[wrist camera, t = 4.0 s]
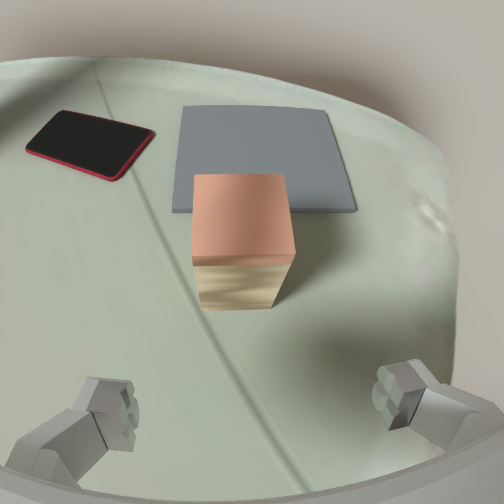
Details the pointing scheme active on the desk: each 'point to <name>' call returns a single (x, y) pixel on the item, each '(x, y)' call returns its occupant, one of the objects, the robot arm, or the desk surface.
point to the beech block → (240, 239)
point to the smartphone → (89, 143)
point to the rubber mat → (263, 153)
